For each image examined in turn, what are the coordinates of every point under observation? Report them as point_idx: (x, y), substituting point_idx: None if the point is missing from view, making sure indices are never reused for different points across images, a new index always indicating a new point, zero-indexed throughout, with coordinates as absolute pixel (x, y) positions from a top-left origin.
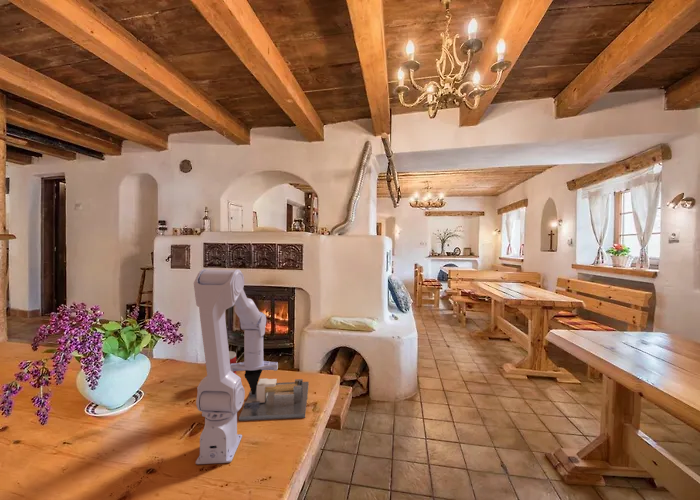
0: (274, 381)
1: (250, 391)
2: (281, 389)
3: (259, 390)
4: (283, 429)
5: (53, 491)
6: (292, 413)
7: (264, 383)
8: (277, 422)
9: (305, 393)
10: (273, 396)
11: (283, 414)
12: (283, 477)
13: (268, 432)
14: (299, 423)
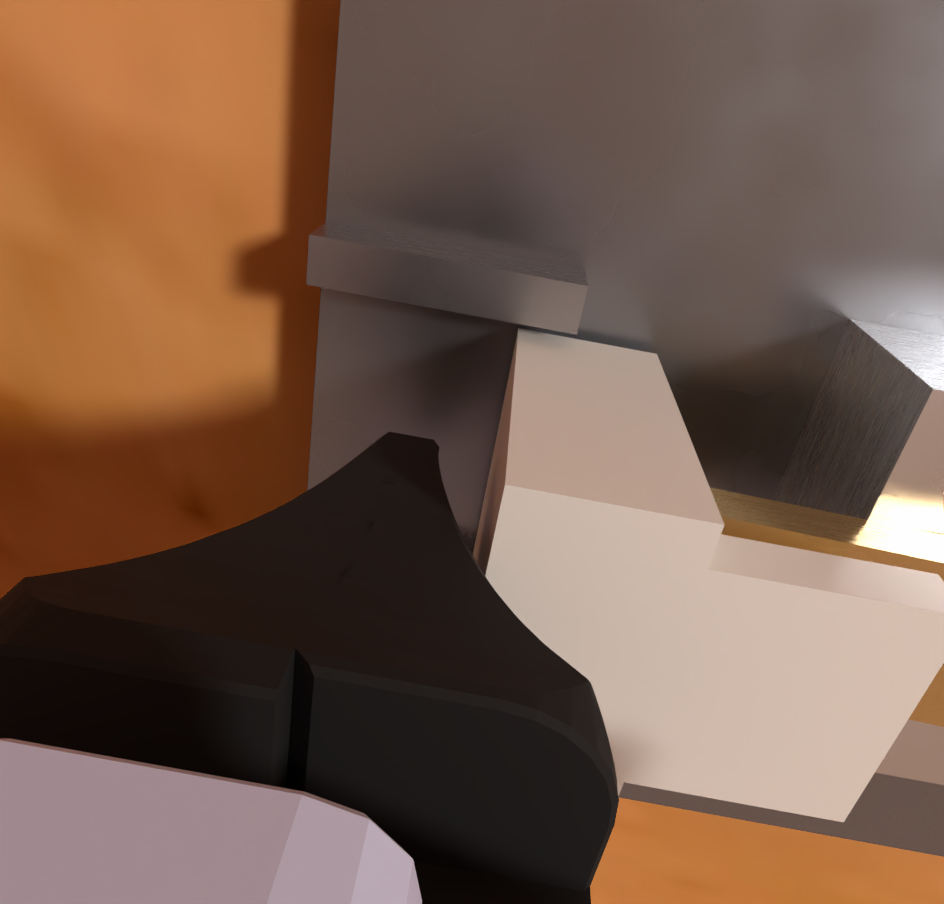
0: (867, 727)
1: (320, 236)
2: (932, 714)
3: None
4: (738, 899)
5: None
6: (896, 834)
7: (614, 742)
8: (702, 813)
9: None
10: (751, 409)
11: (790, 827)
12: None
13: (601, 894)
14: (911, 876)
